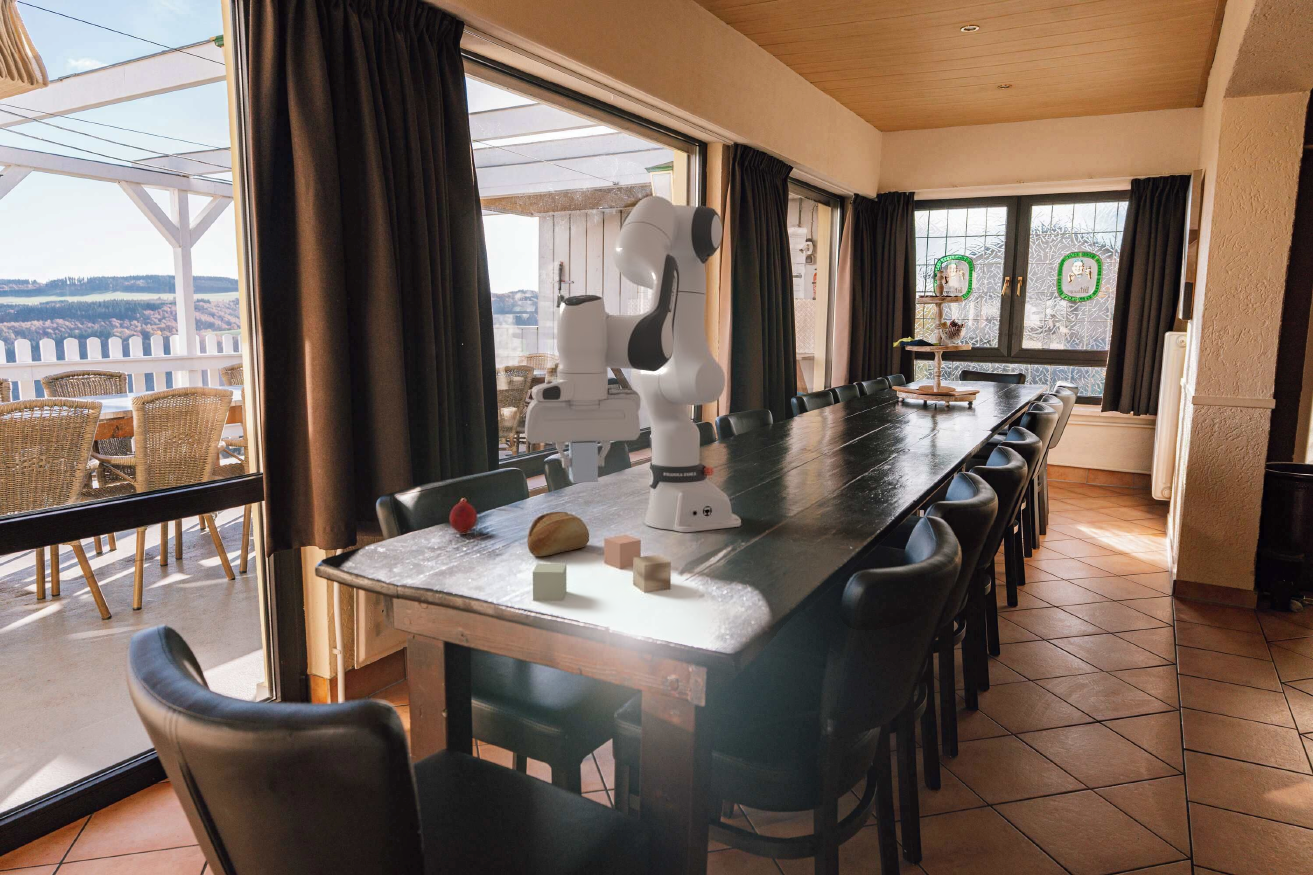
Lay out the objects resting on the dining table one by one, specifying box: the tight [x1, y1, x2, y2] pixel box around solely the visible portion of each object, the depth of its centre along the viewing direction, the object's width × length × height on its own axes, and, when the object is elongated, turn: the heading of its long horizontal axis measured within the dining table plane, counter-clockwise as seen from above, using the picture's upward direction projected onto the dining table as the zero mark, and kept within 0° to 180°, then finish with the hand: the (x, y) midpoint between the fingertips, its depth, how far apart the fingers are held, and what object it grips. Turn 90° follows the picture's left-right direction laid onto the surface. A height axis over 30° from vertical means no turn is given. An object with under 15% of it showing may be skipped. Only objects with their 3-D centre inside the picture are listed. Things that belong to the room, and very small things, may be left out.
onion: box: [448, 497, 478, 534], centre depth 181 cm, size 6×6×8 cm
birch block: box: [632, 554, 672, 594], centre depth 145 cm, size 5×5×5 cm
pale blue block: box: [568, 441, 599, 484], centre depth 147 cm, size 4×4×7 cm
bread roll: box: [526, 511, 590, 557], centre depth 168 cm, size 10×15×8 cm, turn 143°
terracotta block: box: [603, 534, 642, 570], centre depth 159 cm, size 5×5×5 cm
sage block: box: [532, 563, 568, 602], centre depth 140 cm, size 5×5×5 cm
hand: (583, 466), depth 147 cm, fingers closed on pale blue block, 4 cm apart
